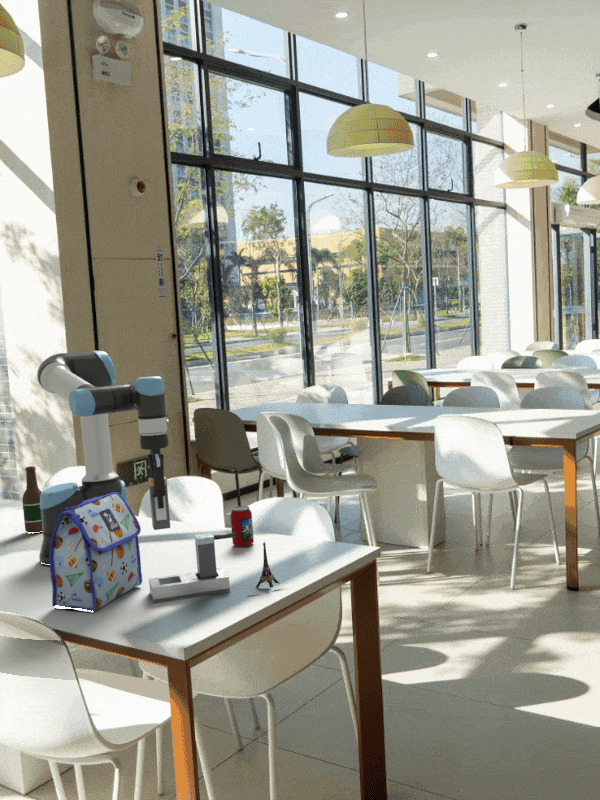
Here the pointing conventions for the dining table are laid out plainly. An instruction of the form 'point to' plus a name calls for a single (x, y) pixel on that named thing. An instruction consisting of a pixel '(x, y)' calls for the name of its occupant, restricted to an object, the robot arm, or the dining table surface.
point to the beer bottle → (32, 502)
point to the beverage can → (242, 526)
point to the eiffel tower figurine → (266, 569)
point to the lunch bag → (95, 553)
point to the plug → (160, 523)
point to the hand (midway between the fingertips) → (160, 517)
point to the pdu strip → (194, 575)
